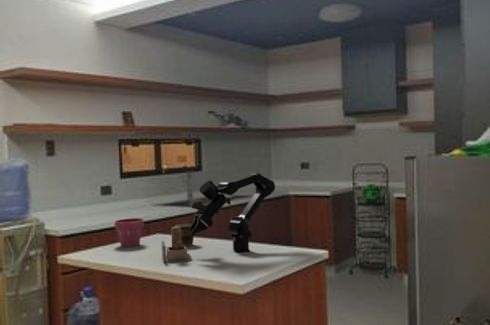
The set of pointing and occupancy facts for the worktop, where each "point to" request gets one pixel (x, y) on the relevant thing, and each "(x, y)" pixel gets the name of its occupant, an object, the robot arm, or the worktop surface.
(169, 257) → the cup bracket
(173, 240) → the wooden pestle
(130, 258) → the worktop surface
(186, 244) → the ceramic cup
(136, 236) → the plant pot
